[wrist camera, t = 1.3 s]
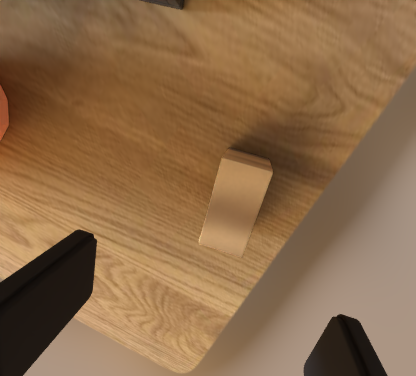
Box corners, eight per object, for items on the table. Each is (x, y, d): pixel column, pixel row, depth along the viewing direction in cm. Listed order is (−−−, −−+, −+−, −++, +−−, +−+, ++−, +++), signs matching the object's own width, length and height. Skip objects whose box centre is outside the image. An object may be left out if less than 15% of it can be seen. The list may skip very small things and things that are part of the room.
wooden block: (228, 146, 20) (221, 157, 15) (269, 158, 19) (273, 172, 15) (208, 218, 22) (198, 244, 18) (244, 229, 22) (242, 258, 18)
